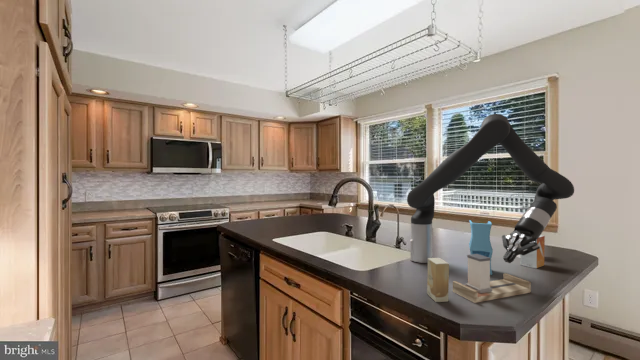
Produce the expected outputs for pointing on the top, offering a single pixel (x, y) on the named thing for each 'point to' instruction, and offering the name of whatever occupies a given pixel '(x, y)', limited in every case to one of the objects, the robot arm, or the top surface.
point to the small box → (534, 255)
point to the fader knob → (479, 273)
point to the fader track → (494, 289)
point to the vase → (481, 240)
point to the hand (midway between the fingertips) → (506, 261)
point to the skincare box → (438, 279)
